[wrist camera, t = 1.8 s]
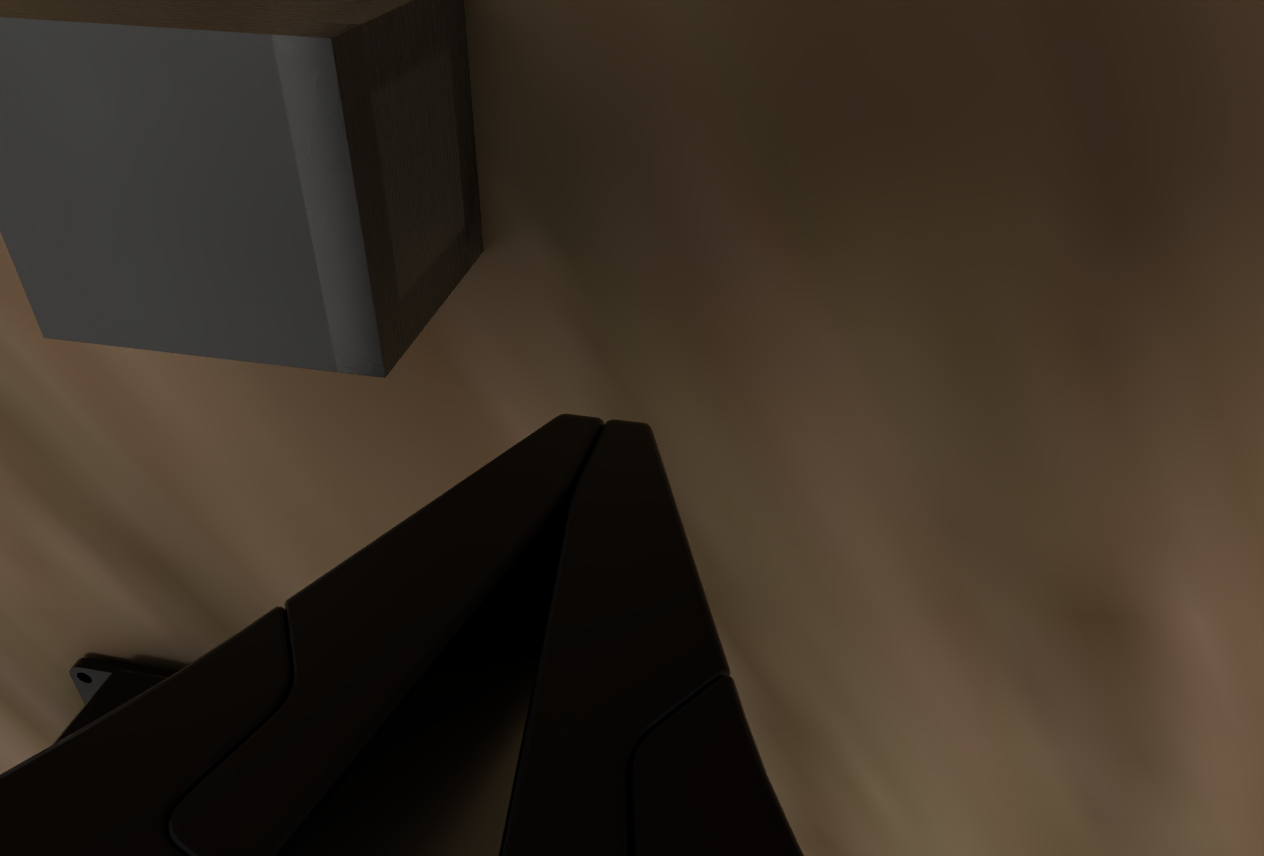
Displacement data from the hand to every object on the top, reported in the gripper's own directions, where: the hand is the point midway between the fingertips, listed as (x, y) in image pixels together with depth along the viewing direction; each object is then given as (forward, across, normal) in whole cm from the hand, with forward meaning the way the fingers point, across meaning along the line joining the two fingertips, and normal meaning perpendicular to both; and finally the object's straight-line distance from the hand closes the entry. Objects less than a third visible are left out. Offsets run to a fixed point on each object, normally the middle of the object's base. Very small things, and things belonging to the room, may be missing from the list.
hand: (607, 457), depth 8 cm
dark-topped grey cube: (+10, +8, 0) cm, 12 cm away
